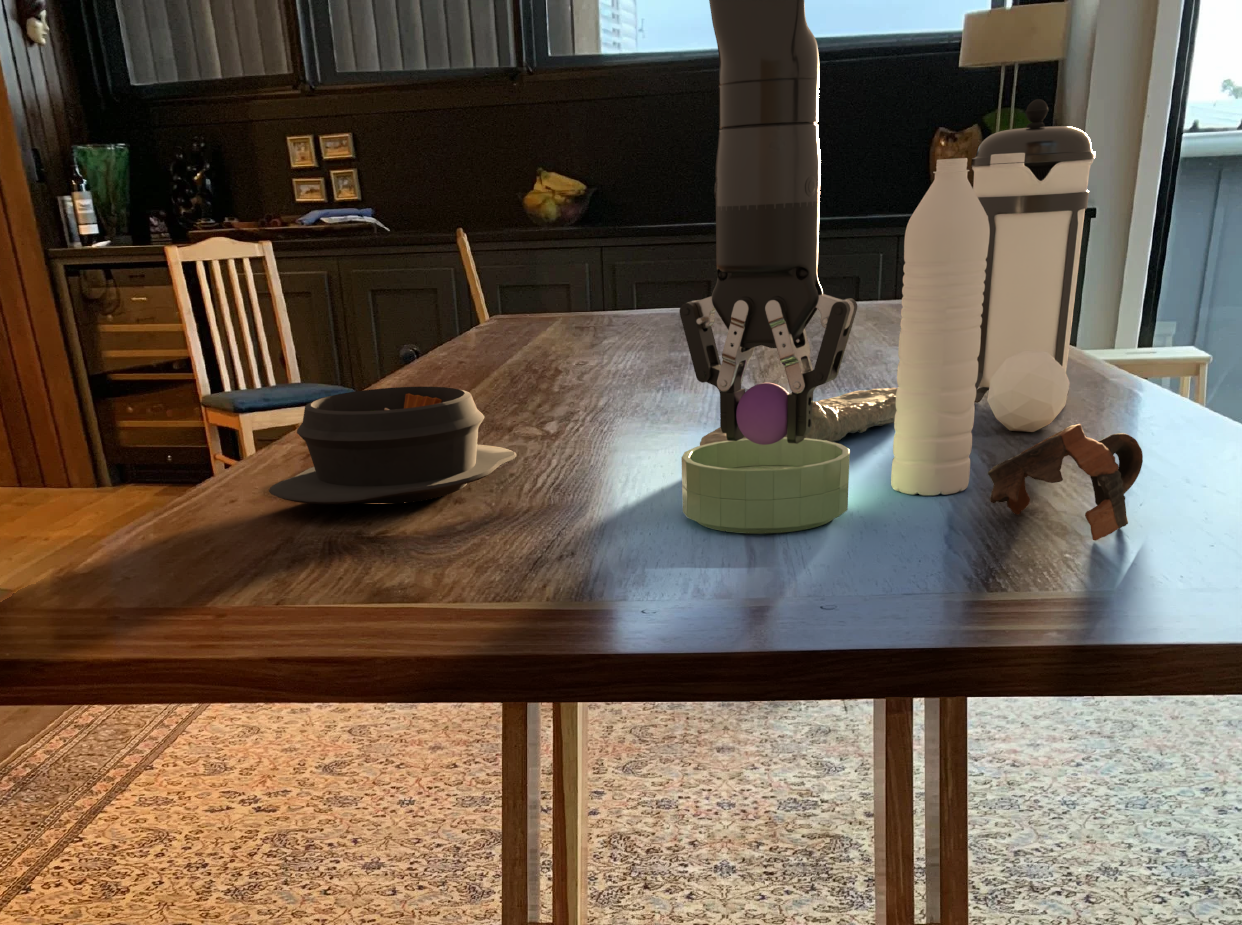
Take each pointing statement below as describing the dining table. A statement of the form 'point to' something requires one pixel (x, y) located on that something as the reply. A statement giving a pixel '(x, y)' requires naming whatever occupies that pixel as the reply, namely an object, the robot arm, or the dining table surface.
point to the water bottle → (941, 332)
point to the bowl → (765, 485)
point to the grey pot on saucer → (391, 447)
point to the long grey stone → (841, 415)
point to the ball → (763, 413)
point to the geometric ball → (1028, 391)
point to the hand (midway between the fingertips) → (765, 439)
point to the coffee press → (1031, 240)
